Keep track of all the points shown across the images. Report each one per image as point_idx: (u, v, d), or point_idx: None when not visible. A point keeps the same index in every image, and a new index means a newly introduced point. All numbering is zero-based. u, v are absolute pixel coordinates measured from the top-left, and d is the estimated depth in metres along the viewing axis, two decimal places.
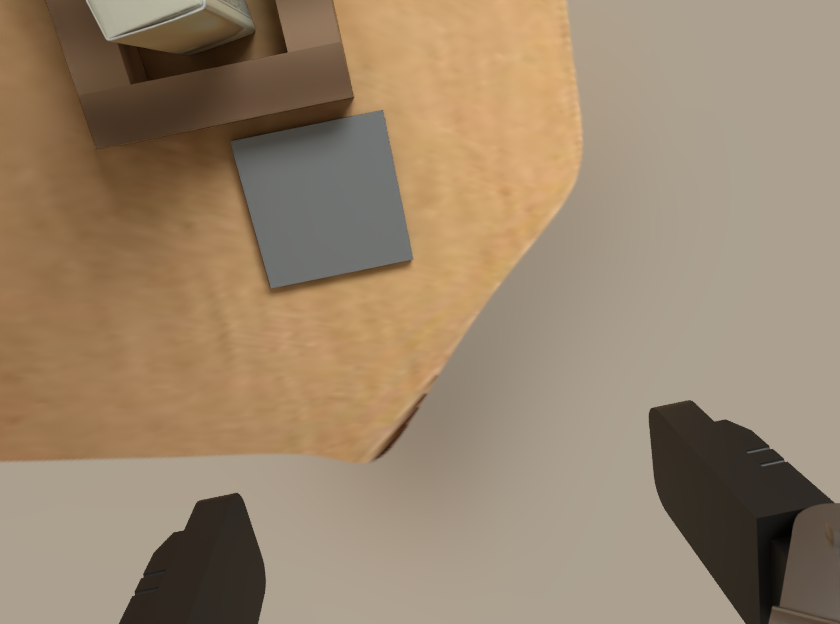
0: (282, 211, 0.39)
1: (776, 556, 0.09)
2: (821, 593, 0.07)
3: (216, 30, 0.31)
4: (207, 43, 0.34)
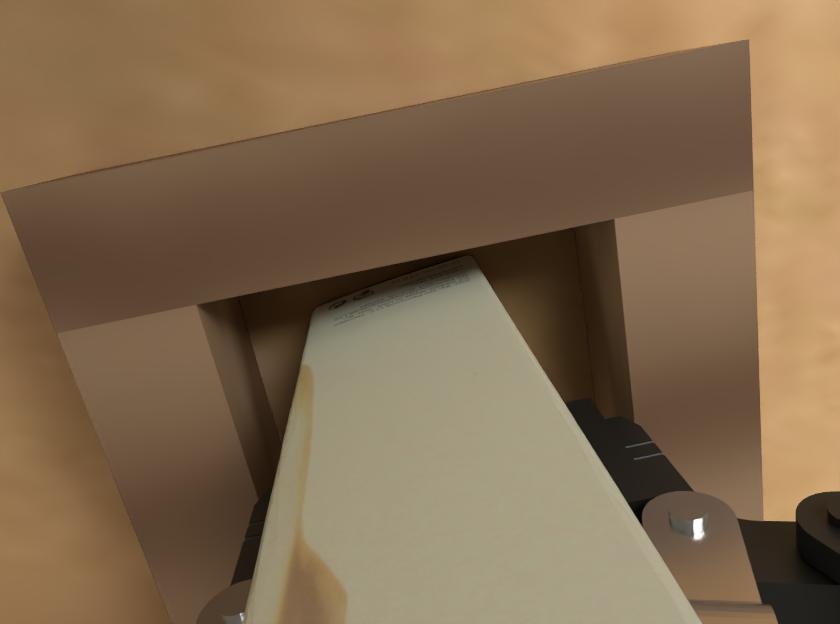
0: None
1: None
2: None
3: None
4: None
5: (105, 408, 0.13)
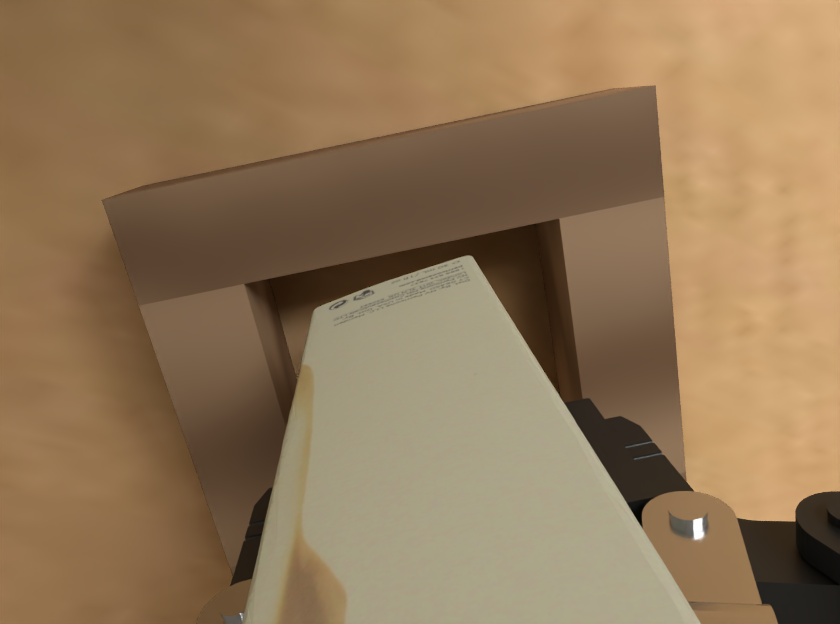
0: None
1: None
2: None
3: None
4: None
5: (173, 364, 0.17)
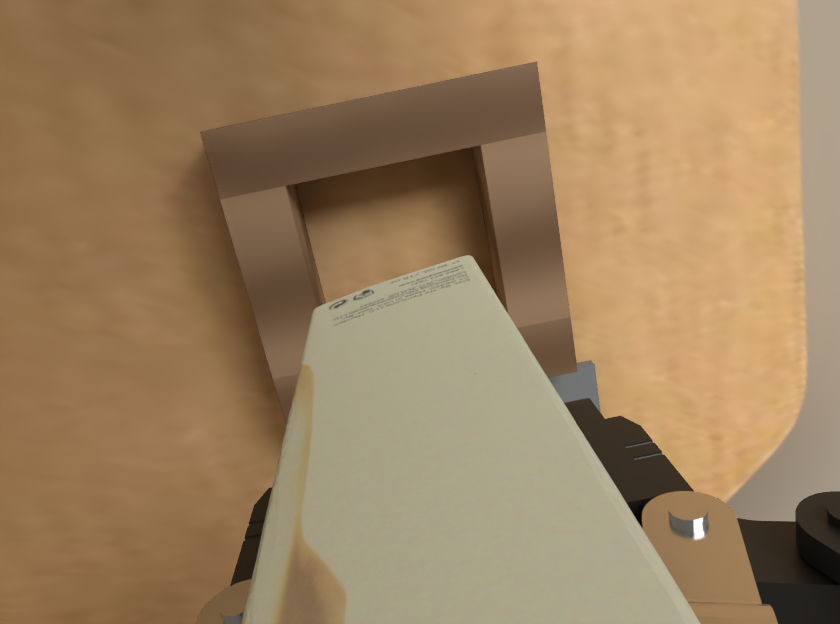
0: None
1: None
2: None
3: None
4: None
5: (240, 238, 0.28)
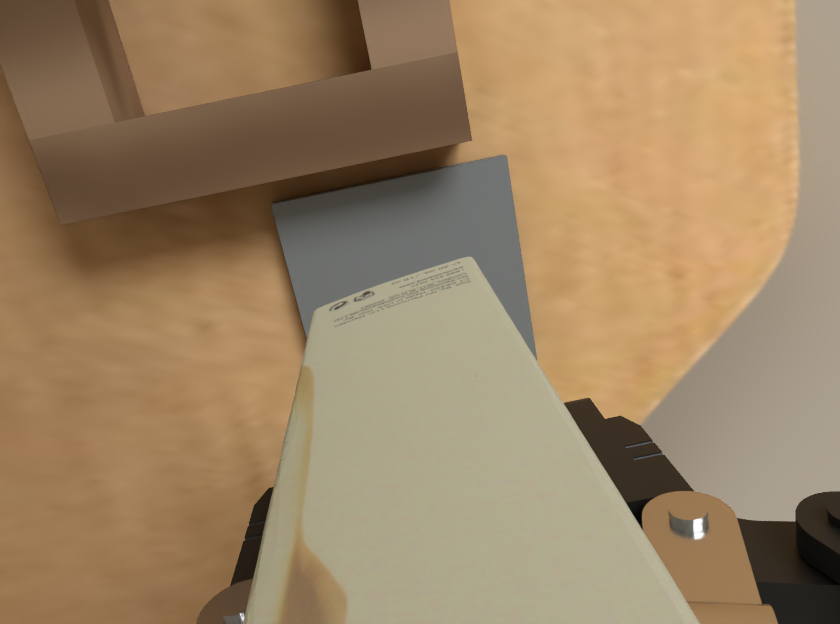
0: None
1: None
2: None
3: None
4: None
5: None
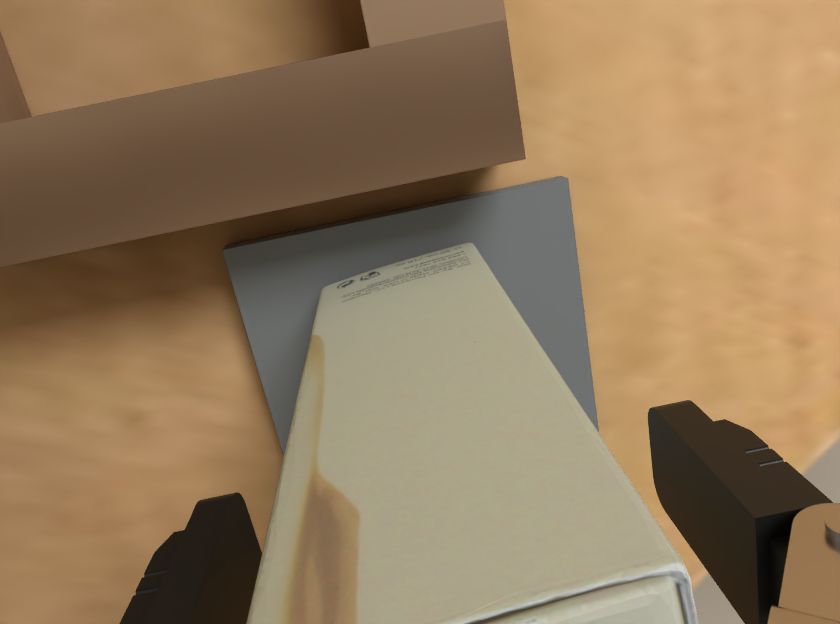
0: None
1: (774, 556, 0.09)
2: (819, 592, 0.07)
3: None
4: None
5: None
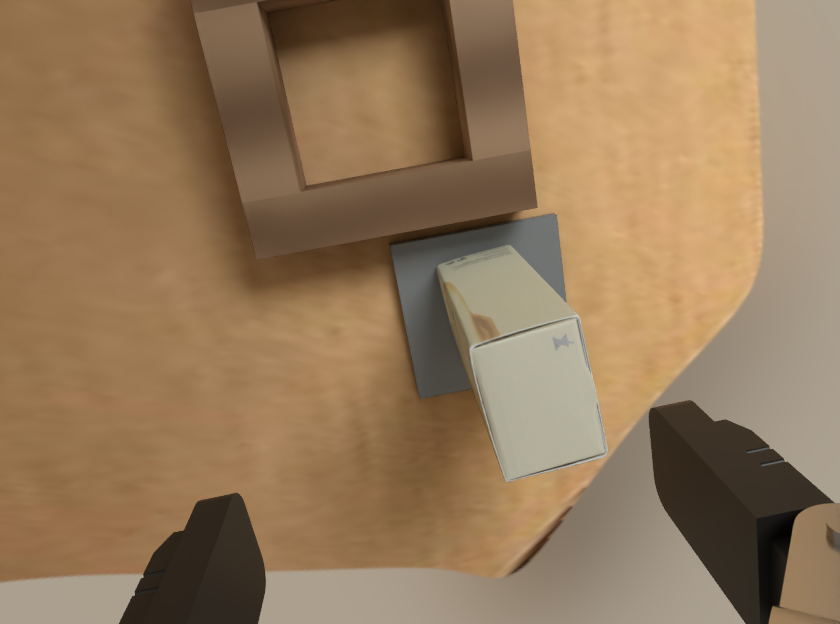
0: (439, 319, 0.36)
1: (776, 556, 0.09)
2: (821, 593, 0.07)
3: None
4: None
5: (212, 54, 0.29)
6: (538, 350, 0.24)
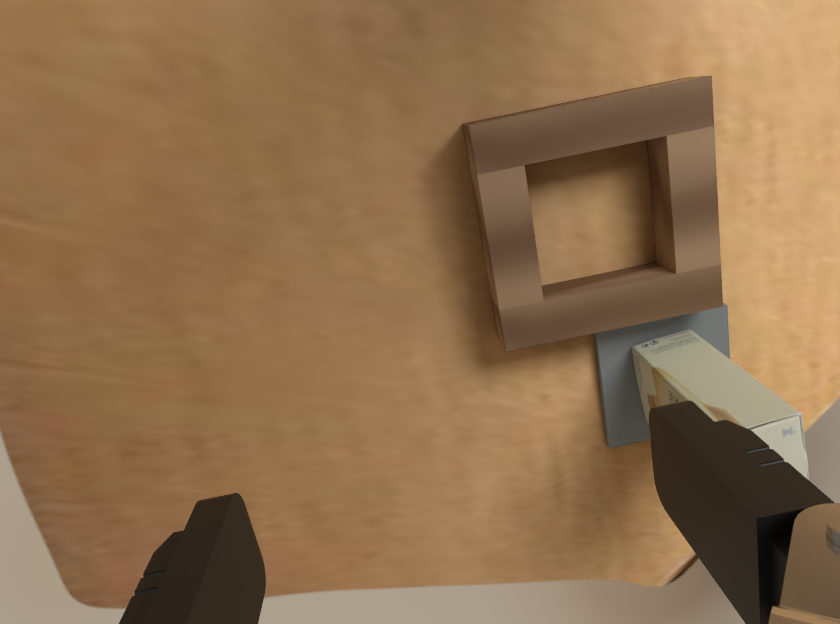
0: (629, 386, 0.45)
1: (776, 556, 0.09)
2: (821, 593, 0.07)
3: None
4: None
5: (488, 203, 0.38)
6: (770, 437, 0.33)
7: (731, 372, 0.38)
